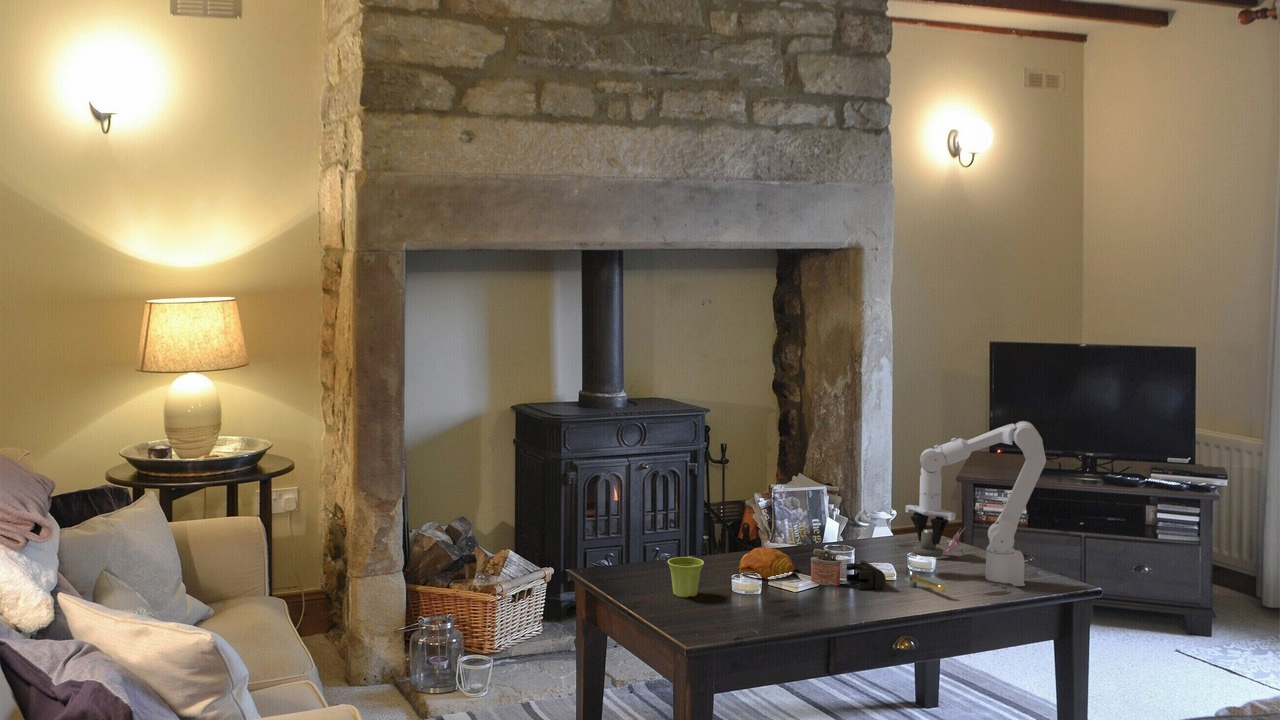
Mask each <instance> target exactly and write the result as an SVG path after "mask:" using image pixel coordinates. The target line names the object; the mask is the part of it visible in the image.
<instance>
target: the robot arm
mask: <svg viewBox="0 0 1280 720" xmlns="http://www.w3.org/2000/svg"><path fill="white" fill-rule="evenodd" d="M950 440H951V441H948V442H947V443H946V442H945V443H943V444H940V445H938V444H936V445H934V446H933V447H934V448H930V447H929V448H925V450H923V452H922V453H921V455H920V457H919V462H920V466H921V468H920V476H919V502H918V503H919V505H916V504H915V505H914V504H907V505H905V513H909V514H910V513H911V514H912V515H911V516H910V520H911V521H912V523H913V525H914V527H915V530H916V534H917V538H918V541H919V542H920V543H921V532H922V531H923V529H927V527H928V526H927V525H928V519H929V517H932V519H930V522H931V527H932V528H931V529H932V530H933V544H934V545H936V546H937V545H940V543H941V539H942V536H943V534H944V530H945V528H946V526H947V525H948V523H949V522H953V521H955V520H956V512H952V511H948V510H946V509H942V484H943V483H942V482H943V481H942V480H943V478H942V474H941V473H942V468H943V466H945V467H947V466H949V465H954V464H956V463H958V462H961V461H964V460H966V459H969V458H970V456H971V454H972V452H975V451H978V450H982V449H984V448H988V447H991V446H994V445H997V444H1006V445H1011V446H1012V445H1013V441H1014V443H1015V444H1016V446H1017V447H1018V448H1019V449H1020V450H1021V452H1022V453H1023V456H1024V459H1025V461H1024V463H1023V465H1022V468H1021V470H1020V473H1019V474H1018V476H1017V479H1016V481H1015V483H1014V485H1013V487H1012V489H1011V492H1010V494H1009V495H1008V499H1007V500H1006V502H1005V504H1004V507H1003V509H1002V512H1001V513H1000V514H999V515H998V517H997V519H996V521H995V522H994V523H992V524H991V526H989V528H988V529H987V537H988V541H989V544H988V546H987V547H986V548H985V549H986V551H985V552H986V553H985V557H986V558H985V579H986V580H987V581H990V582H993V583H1001V584H1011V585H1012V586H1014V587H1025V586H1026V584H1025V558H1024V554H1023V553H1022V551H1021V550H1018V549H1017V550H1016V549H1015V548H1014V546H1015V535H1016V532H1017V529H1018V525H1019V521H1020V519H1021V518H1022V515H1023V512H1024V511H1025V508H1026V507H1027V504H1028V502H1029V500H1030V499H1031V498H1030V497H1031V495H1032V493H1033V492H1034V489H1035V487H1036V484H1037V483H1038V480H1039V479H1040V475H1041V474H1042V472H1043V470H1044V468H1045V466H1046V463H1047V460H1046V459H1047V457H1046V453H1045V449H1044V443H1043V438H1042V436H1041V435H1040V433H1039V430H1037V429H1036V427H1035V426H1034V424H1033V423H1031V422H1029V421H1027V420H1026V421H1025V420H1022V421H1018V422H1016V423H1015V424H1014V423H1009V424H1006V425H1003V426H1001V427H997V428H995V429H992V430H989V431H988V432H985V433H983V434H980V435H978V436H976V437H973V438H970V439H967V440H966V439H964V438H961V437H960V438H956V437H953V438H951V439H950Z"/></svg>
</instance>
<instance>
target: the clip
mask: <svg viewBox="0 0 1280 720" xmlns="http://www.w3.org/2000/svg"><path fill="white" fill-rule="evenodd" d="M909 578H910V583H909V587H910V588H916V587H917V582H918V583H920V584H923V585H925V586H928V587H930V588H929V589H933V590H936V591H938V592H940V593H941V592H942V593H945V592H946V588H947V587H946V585H943V584H939V585H937V584H935V583H932V582H930V581H927V580H925V579H922V578H923V577H920V576H918V571H917V570H909Z"/></svg>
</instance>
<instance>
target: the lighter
mask: <svg viewBox="0 0 1280 720" xmlns="http://www.w3.org/2000/svg"><path fill="white" fill-rule="evenodd" d="M813 555H817V556H811V558H810V562H811V564H810V566H811V567H810V568H811V569H810V582H811V581H812V582H815V583H817V584H816V585H822V586H830V587H831V586H832V587H839V586H840V585H841V564H842V560H841V559H837V555H838V554H837V552H836V551H831V549H826V550H823V549H819V548H814V550H813ZM815 583H814V584H815Z"/></svg>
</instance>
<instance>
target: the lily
mask: <svg viewBox="0 0 1280 720" xmlns="http://www.w3.org/2000/svg"><path fill="white" fill-rule="evenodd" d="M966 527H967V526H966ZM966 527H964V528H963V529H962V530H961V531H960V530H958V531H957V532H956V533H955V534H954V536H953V537H952V540H950V539H947V542H948V543H949V544H948V547H946V548H945V549H943V556H944V555H945V554H946V553H947V552H949V551H953V550H959V551H960V552H961V554H962V555H963V557H964V558H965V560H966V561H968V558H967V555H966V554H965V553H964V552H963V550H962V549H961V548H960V544H959V543H960V540H959V539H960V537H961V534H962V533H963V531H964V530H965V529H966ZM938 558H939V557H936V559H938Z"/></svg>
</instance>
